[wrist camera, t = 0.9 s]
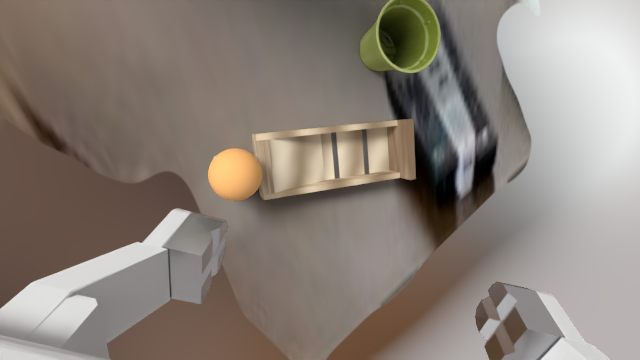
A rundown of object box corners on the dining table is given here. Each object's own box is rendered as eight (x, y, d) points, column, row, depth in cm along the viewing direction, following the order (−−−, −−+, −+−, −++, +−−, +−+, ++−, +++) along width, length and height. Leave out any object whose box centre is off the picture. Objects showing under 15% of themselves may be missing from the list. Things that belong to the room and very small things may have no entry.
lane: (259, 194, 45) (266, 204, 39) (251, 134, 44) (257, 134, 38) (391, 173, 52) (415, 179, 46) (388, 120, 50) (413, 118, 44)
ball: (214, 142, 38) (214, 143, 32) (263, 153, 40) (271, 156, 34) (203, 190, 38) (202, 200, 33) (252, 199, 40) (259, 209, 35)
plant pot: (377, 95, 49) (410, 88, 41) (335, 49, 46) (362, 31, 38) (413, 52, 50) (452, 36, 42) (375, 4, 47) (409, -24, 39)
